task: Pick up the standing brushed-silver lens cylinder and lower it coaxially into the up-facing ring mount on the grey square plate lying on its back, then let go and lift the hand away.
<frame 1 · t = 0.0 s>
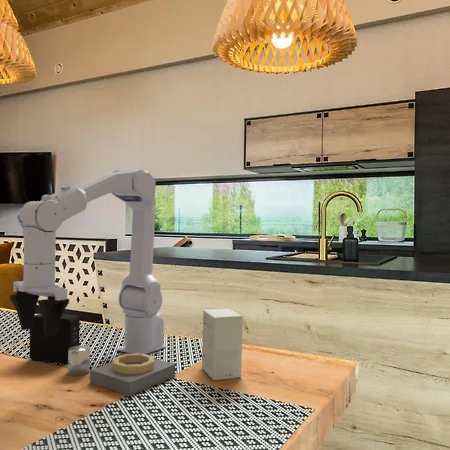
hand: (38, 332, 90), 10 cm above the table, tool pointing down, fingers open, 7 cm apart
grey square plate: (133, 379, 94), on the table
small box: (220, 373, 99), on the table
lens: (78, 372, 97), on the table
electronic device: (54, 360, 105), on the table
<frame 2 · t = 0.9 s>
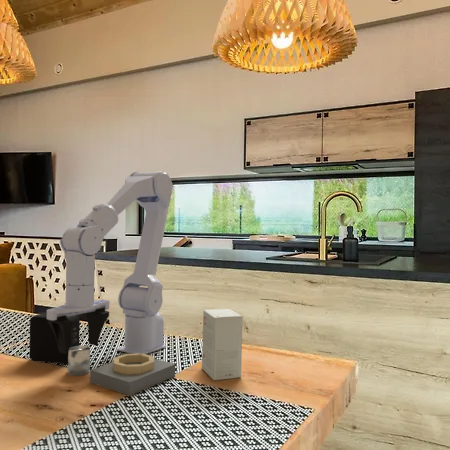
hand: (78, 348, 97), 5 cm above the table, tool pointing down, fingers open, 7 cm apart
nothing on the table moved.
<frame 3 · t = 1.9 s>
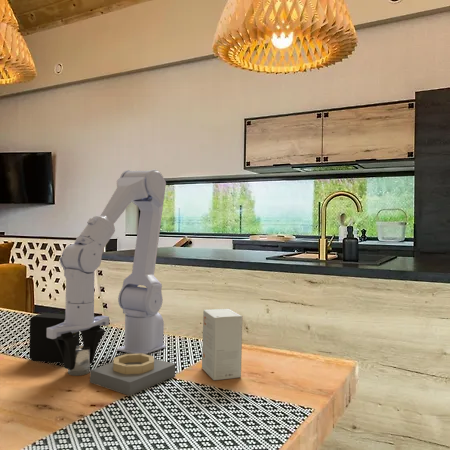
hand: (79, 365, 97), 1 cm above the table, tool pointing down, fingers closed on lens, 4 cm apart
lens: (78, 372, 97), on the table, touching gripper
everything else where it was.
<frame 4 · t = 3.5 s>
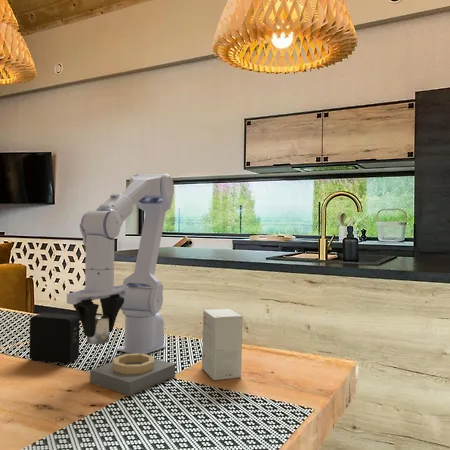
hand: (98, 333, 96), 9 cm above the table, tool pointing down, fingers closed on lens, 4 cm apart
lens: (98, 341, 96), point 7 cm above the table, touching gripper
everything else where it was.
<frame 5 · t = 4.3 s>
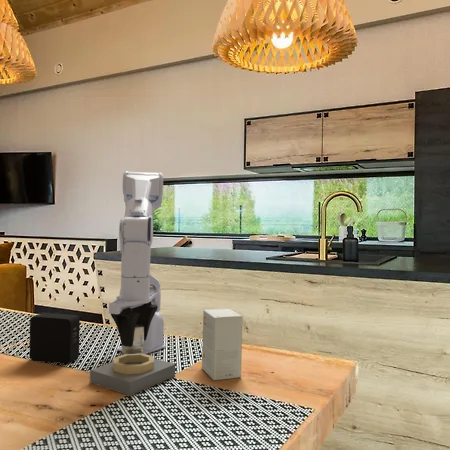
hand: (134, 342, 94), 7 cm above the table, tool pointing down, fingers closed on lens, 4 cm apart
lens: (132, 350, 94), point 6 cm above the table, touching gripper
everything else where it was.
when the fingers open (5 cm above the table, at t = 5.1 s): lens drops 1 cm, resting on grey square plate.
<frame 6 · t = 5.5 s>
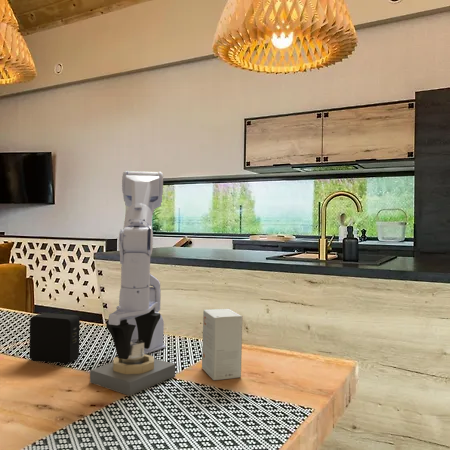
hand: (134, 352, 94), 5 cm above the table, tool pointing down, fingers open, 7 cm apart
lens: (132, 366, 94), point 3 cm above the table, touching grey square plate
everything else where it was.
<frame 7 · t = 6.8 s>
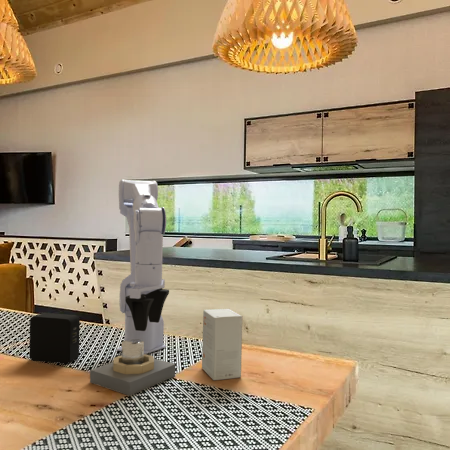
hand: (147, 326, 100), 9 cm above the table, tool pointing down, fingers open, 7 cm apart
nothing on the table moved.
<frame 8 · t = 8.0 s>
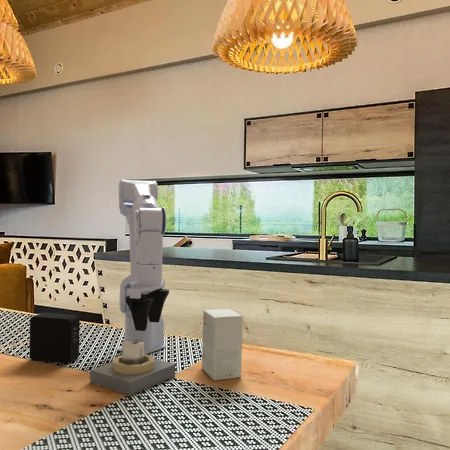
hand: (147, 326, 100), 9 cm above the table, tool pointing down, fingers open, 7 cm apart
nothing on the table moved.
at the end: lens 0.3 cm off-centre on the grey square plate, point 2.5 cm above the grey square plate's base; lens tilted 1°; the gripper is holding nothing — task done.
